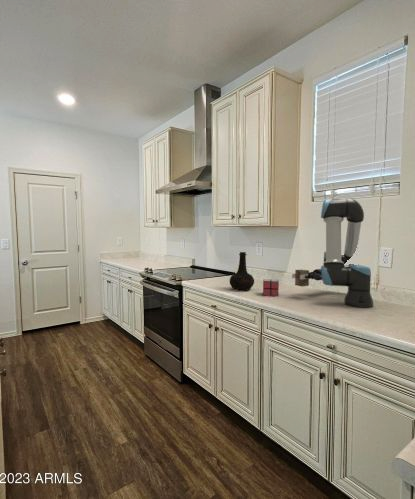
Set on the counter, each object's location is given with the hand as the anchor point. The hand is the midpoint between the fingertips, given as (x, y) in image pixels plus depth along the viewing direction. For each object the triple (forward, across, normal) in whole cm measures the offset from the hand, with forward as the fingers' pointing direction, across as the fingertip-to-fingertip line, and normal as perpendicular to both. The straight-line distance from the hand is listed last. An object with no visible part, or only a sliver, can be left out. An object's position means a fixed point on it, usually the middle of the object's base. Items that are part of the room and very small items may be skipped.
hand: (296, 276), depth 190 cm
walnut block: (-5, 0, -6) cm, 8 cm away
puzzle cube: (+5, +18, -14) cm, 23 cm away
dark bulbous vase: (+11, +42, -14) cm, 45 cm away
